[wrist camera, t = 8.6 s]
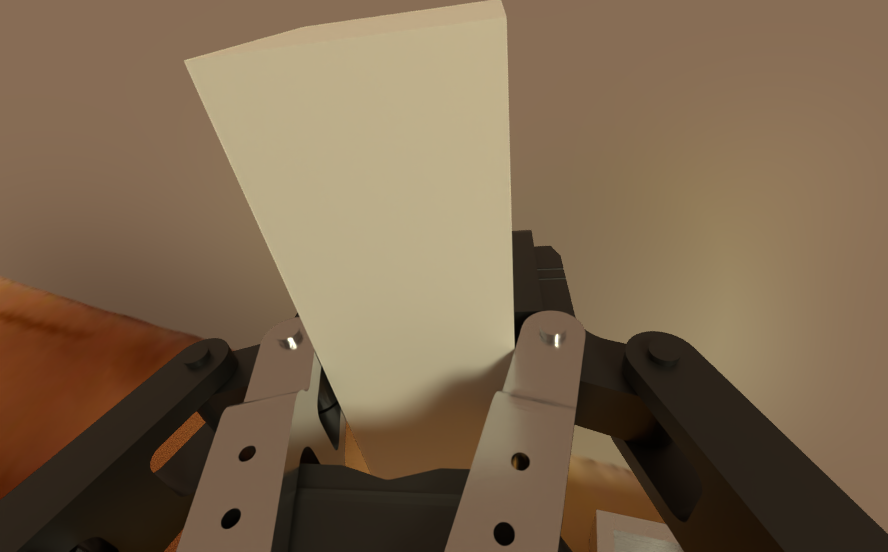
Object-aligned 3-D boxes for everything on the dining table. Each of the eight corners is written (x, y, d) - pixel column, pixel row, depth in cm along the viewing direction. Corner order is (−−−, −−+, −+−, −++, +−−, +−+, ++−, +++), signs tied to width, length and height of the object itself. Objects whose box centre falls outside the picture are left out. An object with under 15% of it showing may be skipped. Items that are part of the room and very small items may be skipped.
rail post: (407, 554, 14) (183, 60, 5) (422, 449, 18) (303, 27, 8) (519, 562, 14) (506, 16, 4) (514, 452, 17) (500, -1, 8)
